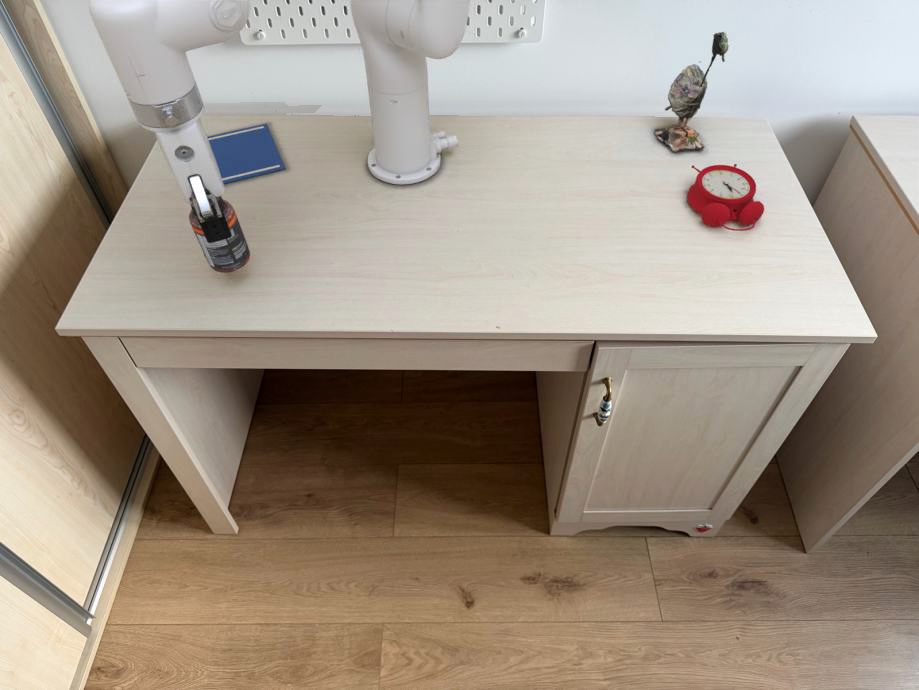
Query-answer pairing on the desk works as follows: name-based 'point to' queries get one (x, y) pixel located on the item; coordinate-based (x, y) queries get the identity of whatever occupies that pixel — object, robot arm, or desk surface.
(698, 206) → the alarm clock
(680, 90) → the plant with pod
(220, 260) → the supplement bottle
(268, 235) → the desk surface
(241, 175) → the napkin
